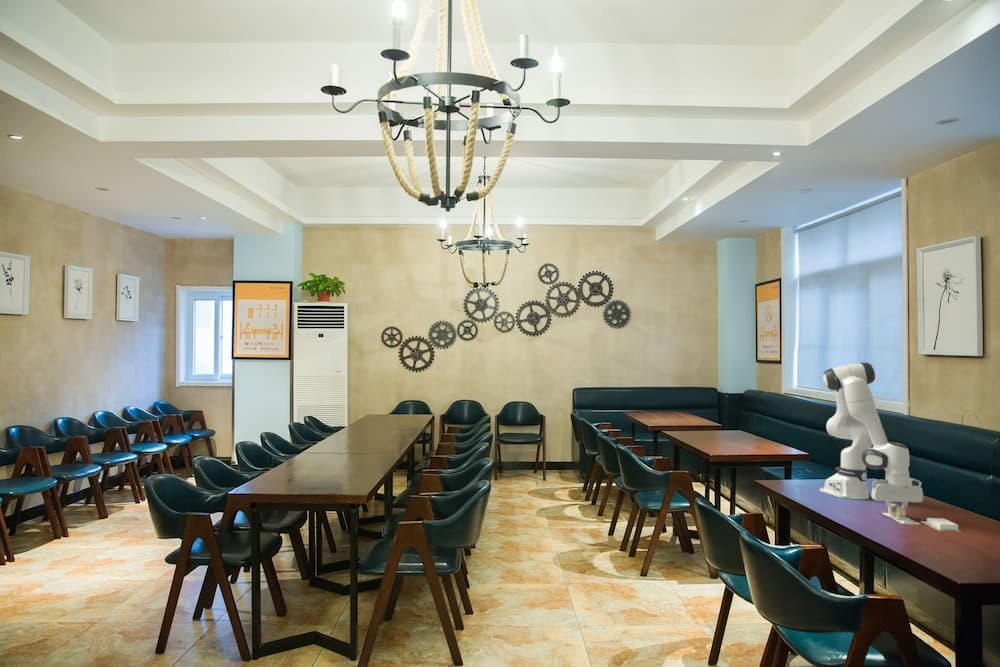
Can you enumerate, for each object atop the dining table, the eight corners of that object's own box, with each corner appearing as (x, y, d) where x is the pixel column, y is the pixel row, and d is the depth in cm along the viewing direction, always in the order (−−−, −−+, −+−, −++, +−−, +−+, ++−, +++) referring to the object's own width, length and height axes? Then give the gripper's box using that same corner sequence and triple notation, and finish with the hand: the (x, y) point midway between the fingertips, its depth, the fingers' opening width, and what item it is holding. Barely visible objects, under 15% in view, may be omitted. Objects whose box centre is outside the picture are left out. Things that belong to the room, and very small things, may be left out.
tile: (926, 517, 264) (940, 524, 255) (944, 518, 263) (958, 524, 255) (926, 523, 264) (940, 529, 255) (944, 523, 263) (957, 530, 254)
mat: (919, 521, 267) (919, 520, 267) (941, 522, 266) (941, 521, 266) (938, 531, 254) (938, 530, 254) (961, 532, 254) (961, 531, 254)
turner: (885, 513, 278) (885, 503, 278) (896, 513, 277) (896, 503, 277) (903, 522, 263) (904, 512, 263) (916, 523, 263) (916, 513, 263)
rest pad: (882, 514, 278) (882, 512, 278) (898, 514, 278) (898, 513, 278) (902, 524, 262) (902, 523, 262) (919, 525, 262) (919, 524, 262)
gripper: (876, 480, 271) (875, 512, 271) (925, 482, 269) (924, 514, 269) (868, 477, 277) (868, 508, 277) (916, 479, 276) (916, 510, 276)
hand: (896, 511), depth 273 cm, fingers open, 3 cm apart
